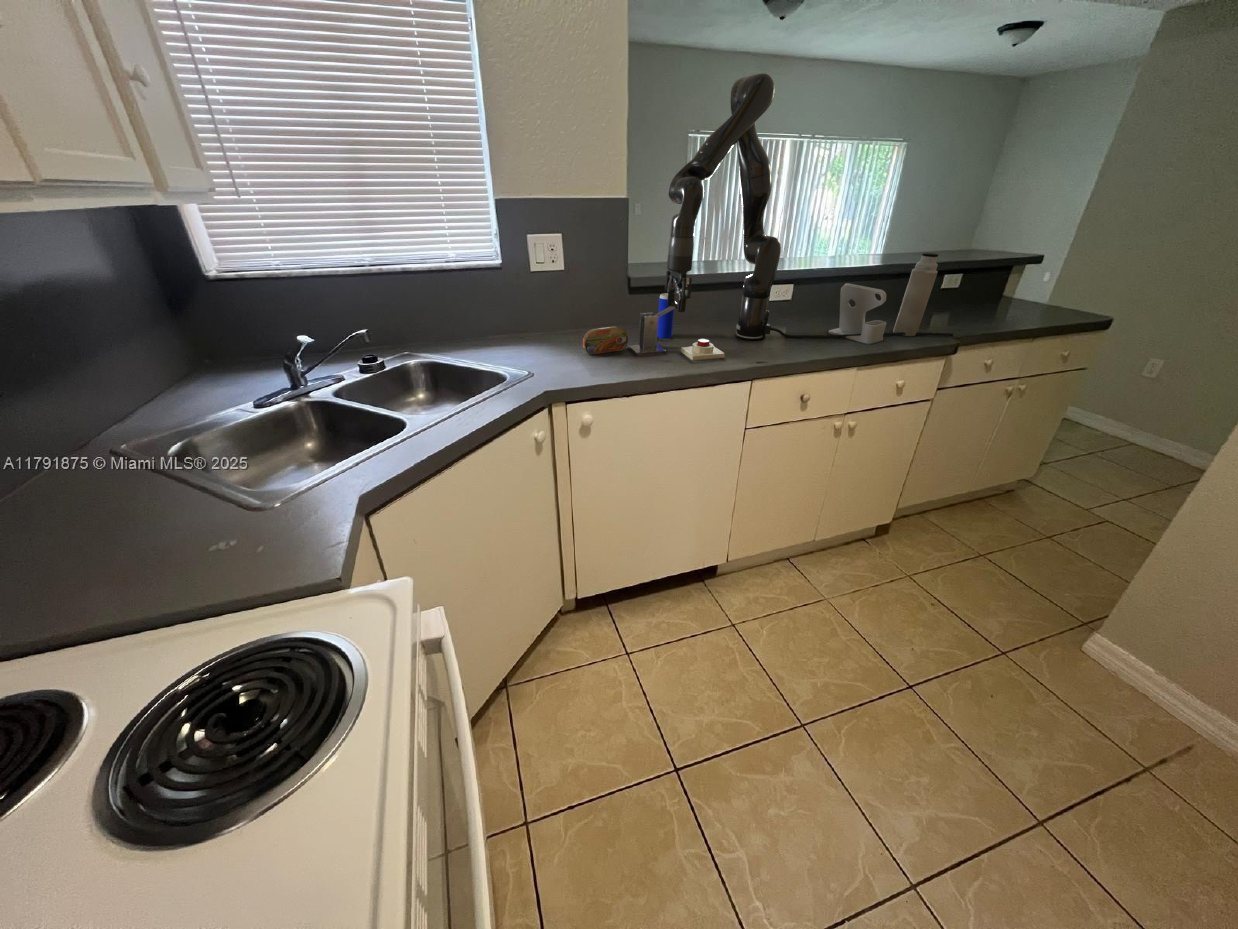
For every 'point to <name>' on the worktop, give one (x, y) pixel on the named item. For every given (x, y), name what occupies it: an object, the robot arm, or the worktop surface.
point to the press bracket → (647, 335)
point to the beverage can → (665, 318)
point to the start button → (703, 342)
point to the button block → (702, 352)
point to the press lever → (666, 310)
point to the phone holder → (860, 314)
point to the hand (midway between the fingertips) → (675, 308)
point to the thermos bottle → (917, 295)
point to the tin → (605, 340)
